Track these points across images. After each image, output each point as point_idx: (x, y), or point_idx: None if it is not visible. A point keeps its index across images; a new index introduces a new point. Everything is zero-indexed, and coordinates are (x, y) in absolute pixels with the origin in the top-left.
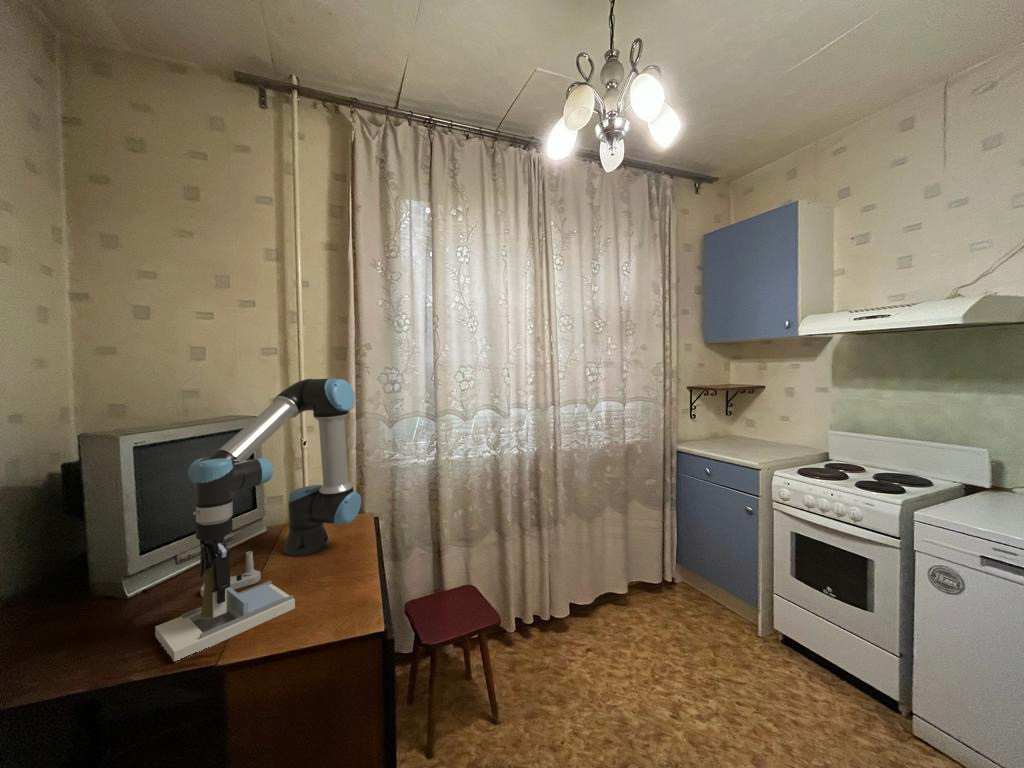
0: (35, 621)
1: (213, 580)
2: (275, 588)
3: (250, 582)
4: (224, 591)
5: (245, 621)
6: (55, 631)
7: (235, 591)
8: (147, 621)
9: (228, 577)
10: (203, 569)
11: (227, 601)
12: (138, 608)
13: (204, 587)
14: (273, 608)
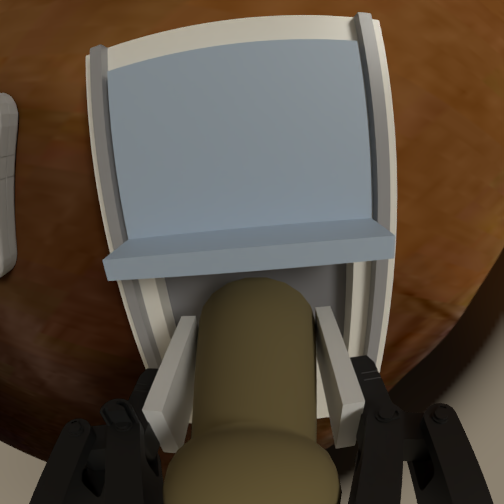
0: (15, 439)
1: (349, 499)
2: (175, 37)
3: (11, 128)
4: (390, 401)
5: (395, 235)
6: (51, 446)
7: (189, 252)
8: (79, 387)
9: (470, 462)
10: (103, 493)
11: (295, 314)
12: (15, 373)
13: (185, 434)
14: (392, 113)
